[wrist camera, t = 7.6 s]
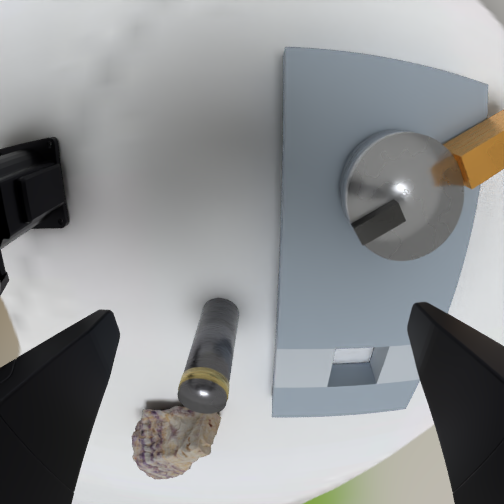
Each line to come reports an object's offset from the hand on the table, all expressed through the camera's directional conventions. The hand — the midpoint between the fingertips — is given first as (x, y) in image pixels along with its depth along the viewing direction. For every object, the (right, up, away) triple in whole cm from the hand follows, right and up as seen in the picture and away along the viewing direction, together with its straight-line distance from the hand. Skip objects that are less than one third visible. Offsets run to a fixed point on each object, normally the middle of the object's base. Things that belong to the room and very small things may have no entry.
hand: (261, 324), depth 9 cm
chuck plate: (+8, +1, +12) cm, 14 cm away
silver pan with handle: (+11, +7, +6) cm, 14 cm away
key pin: (-2, -2, +14) cm, 14 cm away
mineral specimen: (-8, -16, +21) cm, 27 cm away
